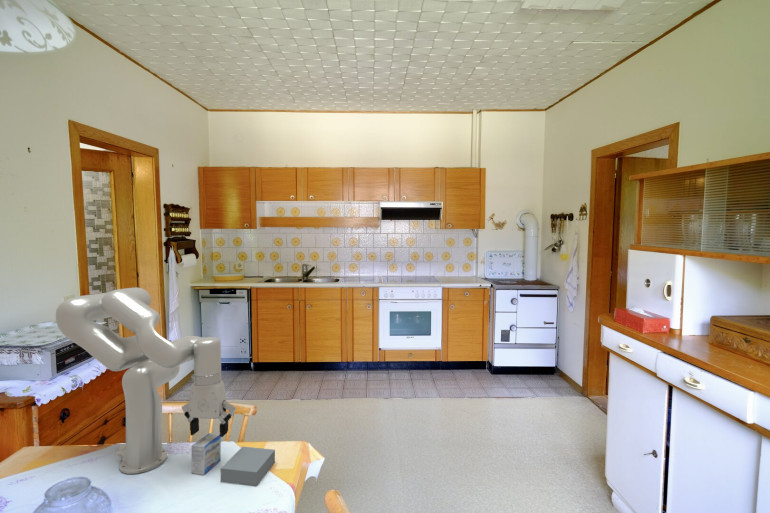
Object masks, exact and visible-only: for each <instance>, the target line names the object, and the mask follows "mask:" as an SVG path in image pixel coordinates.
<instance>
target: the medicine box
mask: <svg viewBox="0 0 770 513" xmlns="http://www.w3.org/2000/svg"><path fill="white" fill-rule="evenodd" d="M221 440H222V437H220V433H214V432H213V433H212V432H209V433H208V434H206V435H205V436H204V437H202V438H200V439H199V440H197V441H196V442H195V443H193V444H192V445H191V449H190V451H191V474H194V475H199V476H200V475H202V476H205V475H206V474H207V473H209V472H210V471H211V470H212V469H213V468H214V467H215V466H216V465H218V464H219V463H220V462H221V459H222V456H221V455H222V454H221V453H222V452H221V450H222V448H221V444H222V442H221Z"/></svg>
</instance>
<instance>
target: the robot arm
mask: <svg viewBox="0 0 770 513" xmlns="http://www.w3.org/2000/svg"><path fill="white" fill-rule="evenodd" d="M151 303H152V297H151V295H150V294H149V292H148V291H147V290H146V289H145V288H141V287H137V286H136V287H126V288H118V289H114V290H111V291H109V292H103V293H102V292H101V293H94V294H93V293H92V294H85V295H79V296H74V297H71V298H68V299H66V300H64V301H62V302H61V303H60V304H58V306H57V308H56V311H55V322H56V323H55V324H56V325H57V328H58V330H59V331H60V333H61V334H62V335H63V336H65V338H67V339H68V340H70V341H71V342H72V343H74V344H76V345H77V346H79V347H80V348H82V349H83V350H85V351H86V352H87V354H89V355H90V356H92V357H93V358H94V359H95V360H96V361H98V362H99V363H100V364H101V365H103V366H104V367H105V368H107V369H108V370H109V371H112V372H120V371H124V370H126V369H127V370H126V371H125V372H124V374H123V376H122V378H121V386H122V390H123V395H124V402H125V444H121V445H120V446H119V448H118V451H117V450H116V453H115V455H116V457H117V456H119V457H120V456H121V457H122V460H121V461H120V463H119V465H118V468H119V471H120V472H121V473H123V474H129V475H133V474H141V473H145V472H149V471H150V470H154V469H156V468H158V467H159V466H161V465H162V464H164V462H166V460H167V459H168V454H169V453H168V451H167V450H166V449H164V448H163V401H162V398H161V395H160V394H159V391H158V388H160V387H161V386H163V385H165V384H168V383H169V382H171V381H172V380H174V379H175V378H176V377H178V374H179V372H180V367H181V365H183V364H185V363H187V362H190V361H192V360H193V374H191V376H190V378H191V379H193V383H192V384H191V386H190V391H189V399H188V400H189V401H188V403H185V404H184V405H181V410H182V411H183V413H184V417H186V419H187V422H188V423H189V431H190V432H189V434H190V436H194V435H195V434H196V433H198V432H199V431H200V419H207V420H211V419H212V420H216V419H218V421H219V422H220V423H219V434H220V437H221V438H223V437H224V436H225V435H227V433H228V431H229V421H230V419H231V418H233V417H234V414H235V412H236V411H237V408H236V406H234V405H232V404H231V403H229V402H227V393H226V389H225V387H226V386H225V383H224V381H223V380H222V353H221V352H222V348H221V346H222V345H221V340H220V338H218V337H215V336H207V337H202V336H197V335H186V336H182V337H180V338H176V339H174V340H172V341H169V340H167V339H166V338H165V337H163V336H162V335H161V334H159V333H158V332H157V331H156V327H157V326H158V324H159V322H160V319H161V317H160V316H161V315H160V313H159V312H158V311H157V310H155V309H154V308H152V307H151ZM107 318H112V319H113V320H115V321H116V322H117V323H119V324H120V325H122V326H123V327H125V328H126V329H128V330H129V331H131V332H132V333H133V334H135V335H131V336H128V337H122V336H120V335H119V334H117V333H116V332H114V330H113V329H111V328H110V327H108V326H106V325H104V324H100V323H98V322H95V321H100V320H104V319H107ZM227 411H228V413H227Z"/></svg>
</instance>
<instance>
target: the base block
mask: <svg viewBox="0 0 770 513" xmlns="http://www.w3.org/2000/svg"><path fill="white" fill-rule="evenodd" d="M275 462H276V449H271V448H261V447H251V446H241V447H240V448H239V449H238V450H237V451H236V453H234V454H233V455H232V456H231V457H230V458H229V460H228V461H226V462H225V463H224V464H223V465H222V466H221V468H220V483H225V484H233V485H234V484H236V485H243V486H253V487H257V486H258V485H259V484H260V482H261V481H262V480H263V479H264V478H265V476H266V474H267V473H268V471H270V469H271V468H272V467H273V465H274V464H275Z"/></svg>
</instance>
